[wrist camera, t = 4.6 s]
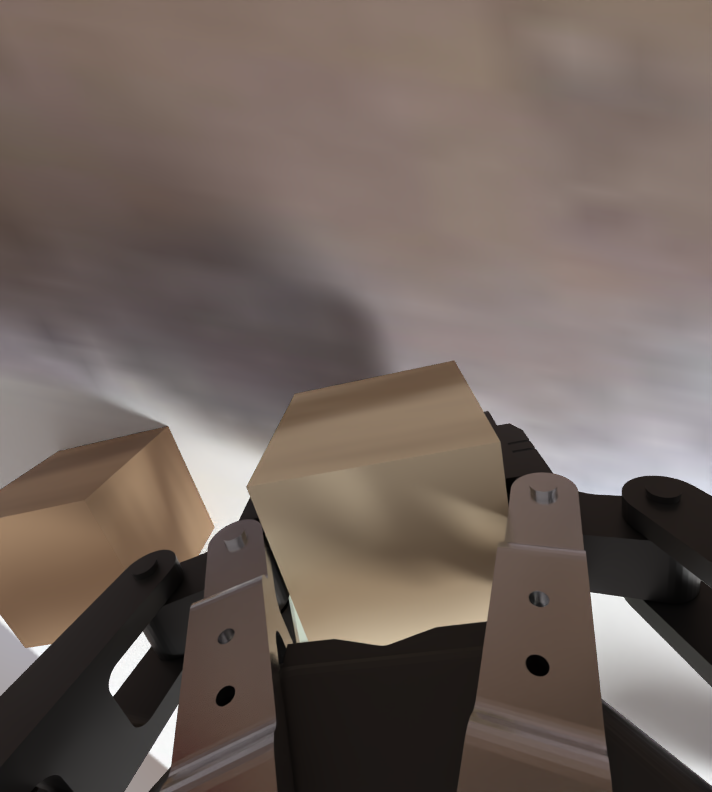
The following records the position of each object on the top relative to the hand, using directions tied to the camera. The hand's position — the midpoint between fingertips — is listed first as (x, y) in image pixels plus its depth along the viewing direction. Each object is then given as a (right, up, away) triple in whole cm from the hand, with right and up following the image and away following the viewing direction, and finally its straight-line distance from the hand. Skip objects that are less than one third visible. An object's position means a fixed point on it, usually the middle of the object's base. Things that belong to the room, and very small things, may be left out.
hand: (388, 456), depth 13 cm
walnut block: (-10, -2, +4) cm, 11 cm away
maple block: (0, 0, 0) cm, 0 cm away
